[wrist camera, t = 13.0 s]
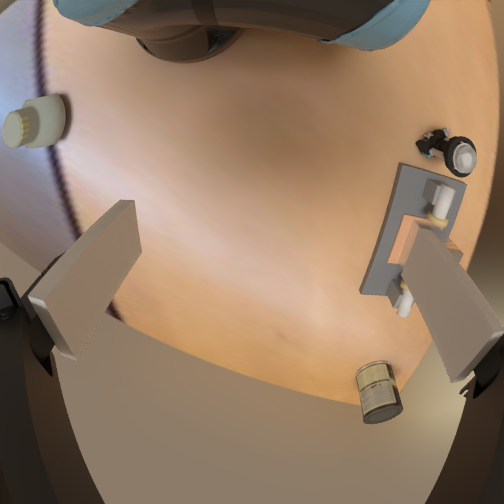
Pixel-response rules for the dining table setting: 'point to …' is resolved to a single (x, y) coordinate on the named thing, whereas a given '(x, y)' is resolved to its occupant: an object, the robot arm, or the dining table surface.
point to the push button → (450, 151)
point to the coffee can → (378, 392)
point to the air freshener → (35, 123)
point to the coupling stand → (398, 225)
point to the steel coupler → (439, 234)
